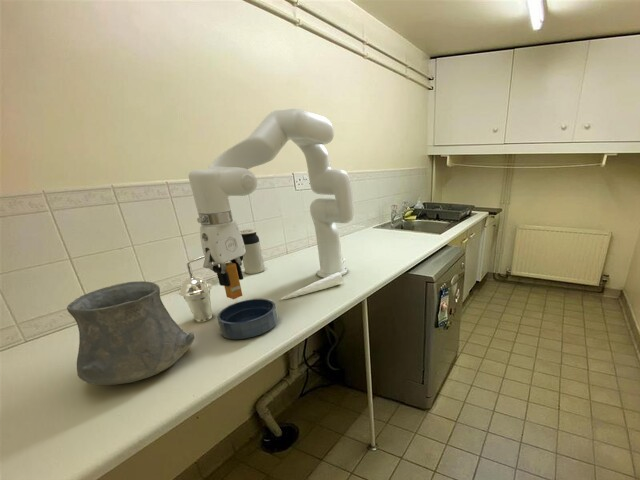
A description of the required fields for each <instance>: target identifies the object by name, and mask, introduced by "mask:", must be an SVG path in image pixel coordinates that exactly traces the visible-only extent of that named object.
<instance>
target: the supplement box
mask: <svg viewBox="0 0 640 480" xmlns="http://www.w3.org/2000/svg"><path fill="white" fill-rule="evenodd" d="M225 270H226V272H228V275H229V279H230V283H231V285H230V286H223V287H224V291H225V296H226V298H229V299H230V300H235V299H238V298H240V297H243V291H242V286H241V280H239V277H238V272H237V268H236V264H235V263H231V262H230V261H228V262H226V263H225Z"/></svg>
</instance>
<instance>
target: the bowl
mask: <svg viewBox="0 0 640 480" xmlns="http://www.w3.org/2000/svg"><path fill="white" fill-rule="evenodd" d="M216 320H217V323H218V328H219V331H220V334H221V335H222V336H223V337H225V338H226V339H232V340H245V339H250V338H253V337H257V336H260V335H263V334H264V333H265V334H266V332H269V331H270V330H272V329H273V328H274V327H276V325H277V324H278V322H279V316H278V310H277V305H276V302H274V301H273V300H271V299H268V298H251V299H245V300H240V301H237V302H235V303H232V304H229V305H227V306H226V307H224V308H222V309H221V310H220V311H219V312H218V313H217V315H216Z"/></svg>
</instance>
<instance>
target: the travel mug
mask: <svg viewBox="0 0 640 480" xmlns="http://www.w3.org/2000/svg"><path fill="white" fill-rule="evenodd" d="M240 232H241V235H242V238H243V242H244V246H245V250H246V253H245V255H244V256H243V259H242V265H243V268H244V269H243V270H244V272H245V273H246V274H248V275H249V274H250V275H253V274H259V273H262V272H263V271H265V269H266V267H265V262H264V257H263V252H262V247H261V241H260V237H259V236H258V235H257V229H256V228H255V229H254V228H249V229H248V228H247V229H240Z"/></svg>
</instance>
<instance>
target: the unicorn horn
mask: <svg viewBox="0 0 640 480" xmlns="http://www.w3.org/2000/svg"><path fill="white" fill-rule="evenodd" d="M343 283H344V278H343V275H341V274H340V273H339V272H337V273H335V274H333V275H330V276H328V277H326V278H324V277H323V278H321V279H318V280H317V281H314V282H311V283H310V284H308V285H306V286H304V287H302V288H300V289H297V290H295V291H293V292H291V293H289V294H287V295H285V296H283V297H282V298H280V301H284V300H287V299H288V300H289V299H292V298H296V297H300V296H303V295H307V294H311V293H315V292H319V291H323V290H326V289H328V288H334V287H336V286H340V285H343Z"/></svg>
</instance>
